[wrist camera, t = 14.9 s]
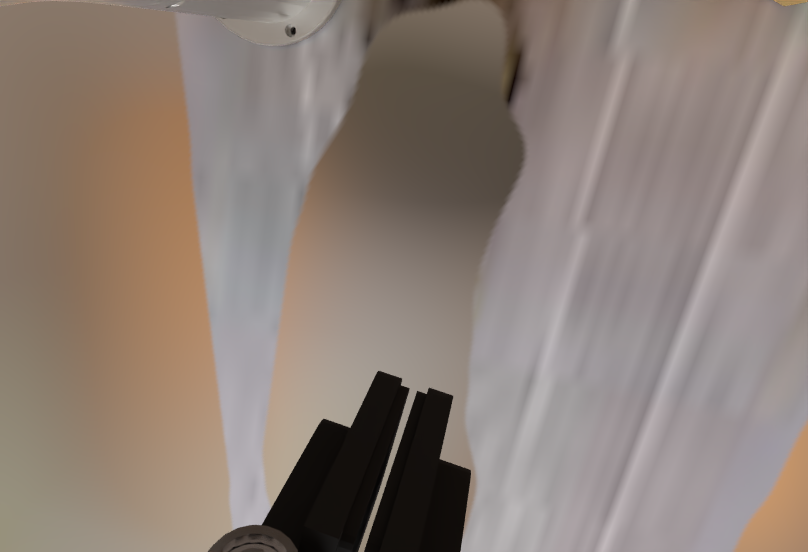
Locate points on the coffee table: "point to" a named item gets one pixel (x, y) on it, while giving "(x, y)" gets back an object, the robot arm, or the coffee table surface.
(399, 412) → the robot arm
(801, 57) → the coffee table surface
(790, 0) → the puzzle cube
